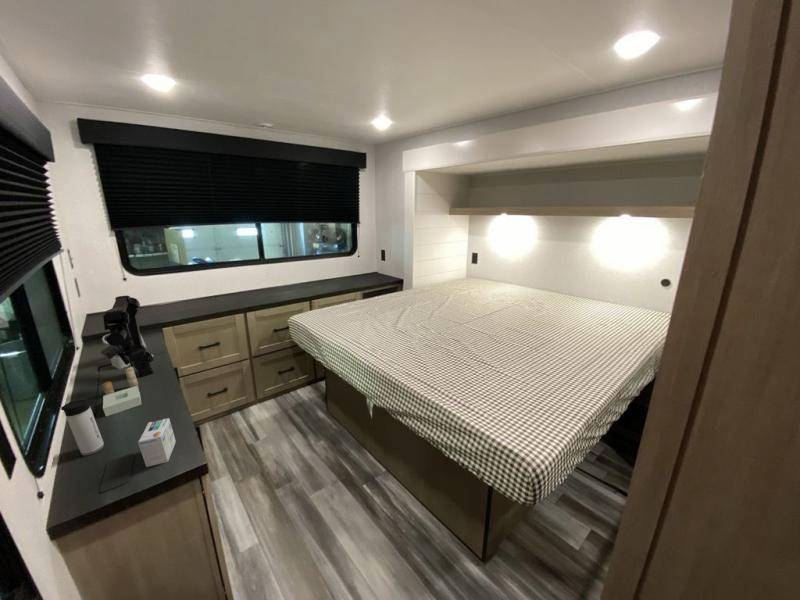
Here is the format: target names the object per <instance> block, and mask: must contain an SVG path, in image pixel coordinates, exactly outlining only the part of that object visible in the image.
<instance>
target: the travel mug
mask: <svg viewBox="0 0 800 600" xmlns="http://www.w3.org/2000/svg"><path fill="white" fill-rule="evenodd" d="M60 410H61V411H63V412H64V415H65V417H66V420H67V423H68V425H69V427H70V429H71V432H72V434H73V437H74V439H75V443H76V444H77V448H78V449H79V452H80V454H81V455H82V456H91V455H94V454H95V453H98V452H99V451H100V450H102V449H103V448H104V446H105V443H104V440H103V437H102V434H101V432H100V430H99V427H98V424H97V422H96V418H95V416H94V413H93V410H92V408H91V406H90V404H89V401H88V400H85V399H78V400H73V401H70V402H67V403H66V404H64V405H63V406H61V407H60Z"/></svg>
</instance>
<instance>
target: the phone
mask: <svg viewBox="0 0 800 600" xmlns="http://www.w3.org/2000/svg"><path fill="white" fill-rule="evenodd" d="M134 459H135V453H132V452H131V453H128V454H125V455H122V456H120V457H117V458H114V459H111V460H109V461H108V462H107V464H106V467H105V470H104V474H103V476H102V481H101V484H100V488H99V493H100V494H103V493H107V492H109V491H111V490H114V489H117V488H119V487H122V486H125V485H127V484H128V483H129V482H130V480H131V474H132V470H133V465H134V462H135V461H134Z"/></svg>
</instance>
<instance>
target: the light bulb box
mask: <svg viewBox="0 0 800 600" xmlns="http://www.w3.org/2000/svg"><path fill="white" fill-rule="evenodd" d="M176 442H177V440H176V438H175V434H174V430H173V428H172V424H171V420H170V418H168V417H167V418H163V419H158V420H155V421H149V422H148V423H147V424H146V426H145V429H144V431H143V433H142V434H141V436H140V438H139V440H138V441H137V444H138V447H139V449H140V453H141V455H142V456H141V457H143V461H144V464H145V467H146V468H149V467H153V466H156V465H161V464H164V463H168V462H169V460H170V457H171V455H172V452H173V450H174V447H175V444H176Z"/></svg>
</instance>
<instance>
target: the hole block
mask: <svg viewBox="0 0 800 600" xmlns="http://www.w3.org/2000/svg"><path fill="white" fill-rule="evenodd" d="M114 392H115V391H114ZM141 398H142V397H141V392H140V389H139V387H138V386H134V387H131V388H130V387H128V388H125V389H122V390H118V391H116V392H115V393H111V394H108V395H106V394H105V395H103V397H102V399H103V400H102V410H103V412H104V415H105V417H108V416H111V415H115V414H118V413H121V412H123V411H126V410H129V409H132V408H135V407H138V406H142V399H141Z"/></svg>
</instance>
